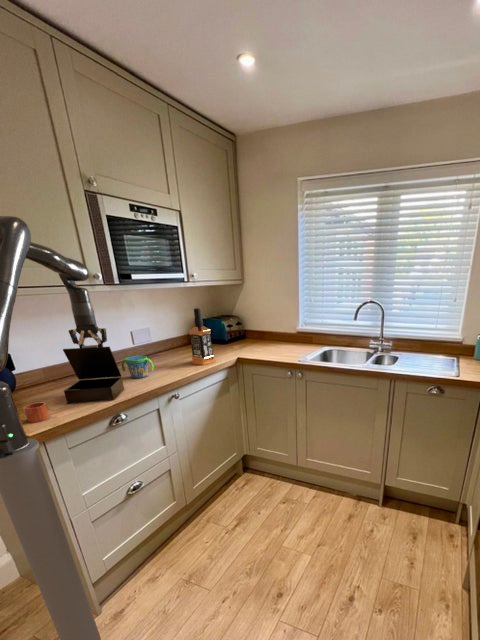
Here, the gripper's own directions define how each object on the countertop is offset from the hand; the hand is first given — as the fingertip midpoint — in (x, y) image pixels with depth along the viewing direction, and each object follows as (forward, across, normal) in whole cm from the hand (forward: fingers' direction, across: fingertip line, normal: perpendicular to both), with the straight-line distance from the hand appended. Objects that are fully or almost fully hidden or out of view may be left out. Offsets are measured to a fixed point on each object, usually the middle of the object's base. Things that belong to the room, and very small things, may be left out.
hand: (93, 352), depth 145 cm
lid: (+5, 0, -2) cm, 5 cm away
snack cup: (+18, +11, +22) cm, 30 cm away
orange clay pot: (+18, -12, -29) cm, 37 cm away
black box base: (+18, 0, -6) cm, 19 cm away
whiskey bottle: (+18, +42, +45) cm, 64 cm away
